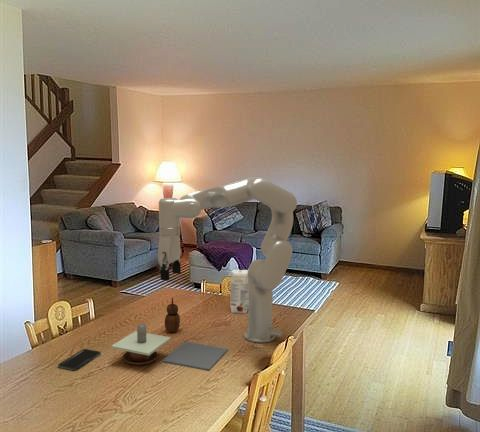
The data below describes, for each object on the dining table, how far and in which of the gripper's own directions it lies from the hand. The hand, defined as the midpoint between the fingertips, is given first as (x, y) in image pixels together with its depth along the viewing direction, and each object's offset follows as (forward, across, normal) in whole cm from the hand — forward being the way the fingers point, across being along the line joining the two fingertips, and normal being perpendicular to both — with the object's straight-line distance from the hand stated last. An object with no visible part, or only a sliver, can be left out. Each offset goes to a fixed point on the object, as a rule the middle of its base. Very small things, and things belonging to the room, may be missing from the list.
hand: (170, 276), depth 182 cm
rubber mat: (+27, +6, +12) cm, 30 cm away
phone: (+27, +24, -24) cm, 43 cm away
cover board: (+21, +15, -4) cm, 26 cm away
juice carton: (+28, -46, +12) cm, 55 cm away
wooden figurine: (+27, -13, -6) cm, 31 cm away
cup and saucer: (+27, +16, -5) cm, 32 cm away
